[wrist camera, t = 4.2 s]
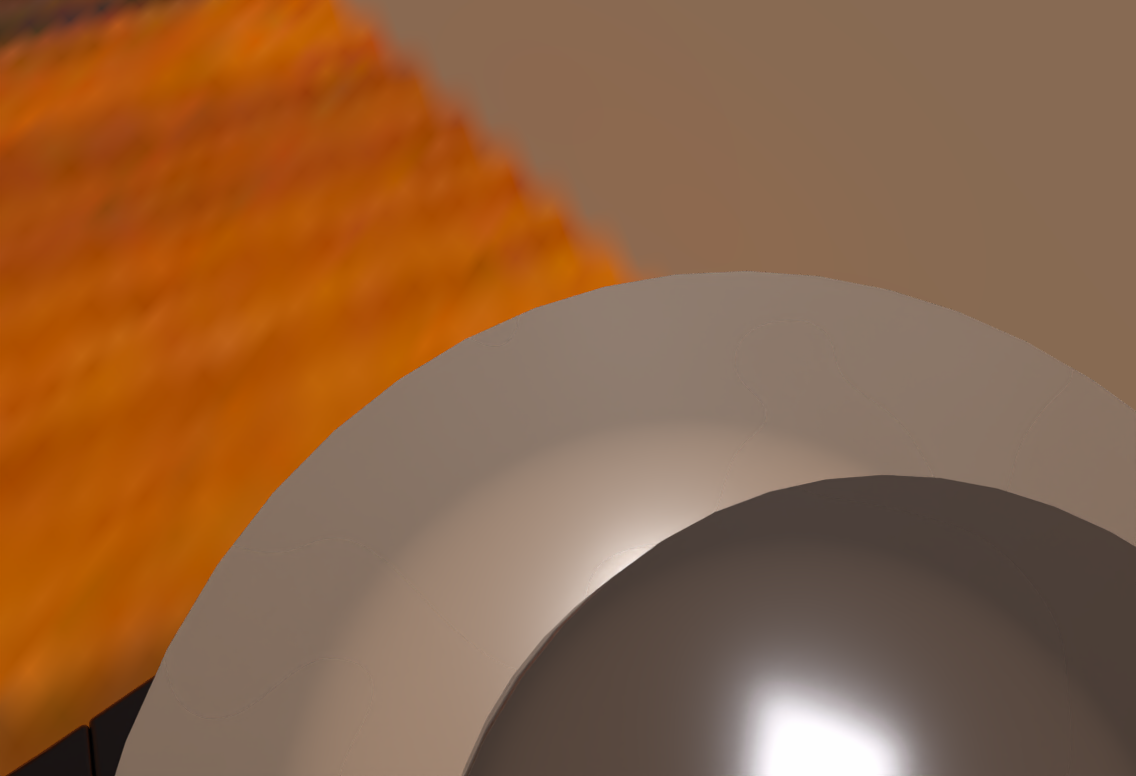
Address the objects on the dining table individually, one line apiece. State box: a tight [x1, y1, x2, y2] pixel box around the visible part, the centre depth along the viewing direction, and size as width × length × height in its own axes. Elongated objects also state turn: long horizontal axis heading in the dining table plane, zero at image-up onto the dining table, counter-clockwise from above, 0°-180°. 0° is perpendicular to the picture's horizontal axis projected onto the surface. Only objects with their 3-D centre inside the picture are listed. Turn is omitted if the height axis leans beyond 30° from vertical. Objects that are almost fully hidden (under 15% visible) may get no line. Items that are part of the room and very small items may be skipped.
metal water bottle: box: [115, 271, 1136, 776], centre depth 8 cm, size 5×5×14 cm
